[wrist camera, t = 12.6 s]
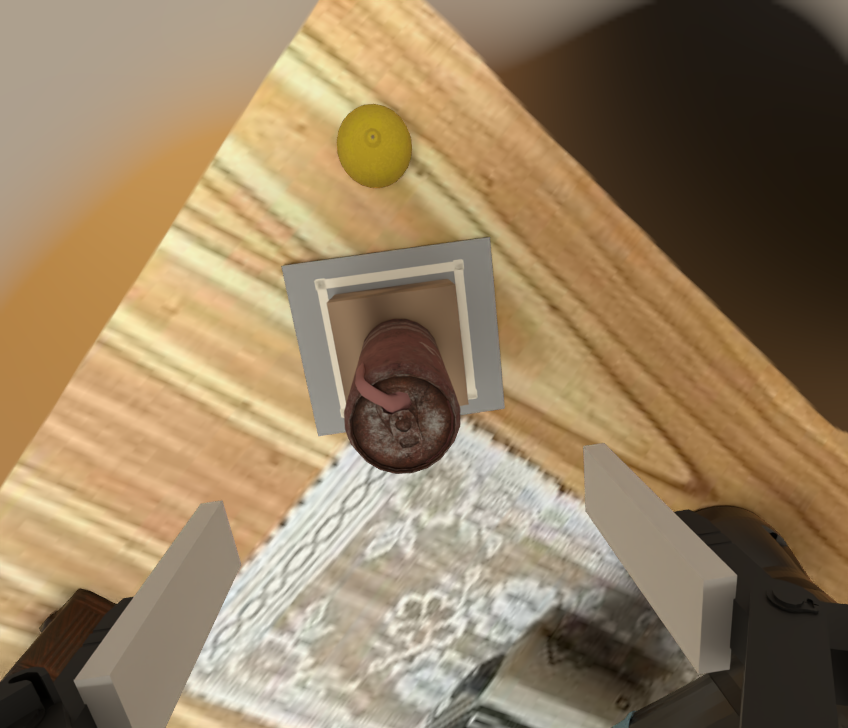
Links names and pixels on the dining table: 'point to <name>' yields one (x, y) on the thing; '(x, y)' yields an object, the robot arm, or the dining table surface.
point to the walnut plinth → (411, 301)
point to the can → (401, 400)
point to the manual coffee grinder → (64, 633)
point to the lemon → (374, 146)
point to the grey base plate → (386, 269)
